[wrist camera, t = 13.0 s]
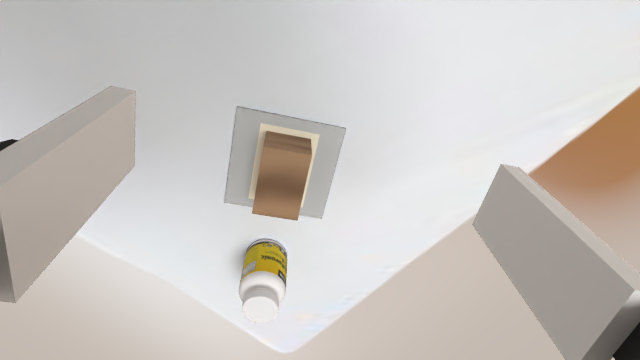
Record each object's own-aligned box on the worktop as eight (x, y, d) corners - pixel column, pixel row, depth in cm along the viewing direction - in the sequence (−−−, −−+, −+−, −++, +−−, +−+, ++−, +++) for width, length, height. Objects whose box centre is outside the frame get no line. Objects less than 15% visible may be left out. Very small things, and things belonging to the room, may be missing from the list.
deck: (266, 130, 43) (262, 146, 39) (311, 138, 44) (312, 155, 40) (256, 193, 47) (251, 213, 43) (297, 199, 47) (297, 220, 43)
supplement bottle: (296, 254, 52) (295, 310, 43) (267, 277, 53) (261, 335, 45) (265, 230, 50) (258, 284, 41) (237, 254, 51) (224, 311, 43)
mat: (225, 200, 48) (224, 203, 47) (237, 106, 42) (236, 107, 42) (321, 216, 49) (321, 219, 49) (345, 128, 44) (346, 129, 43)
